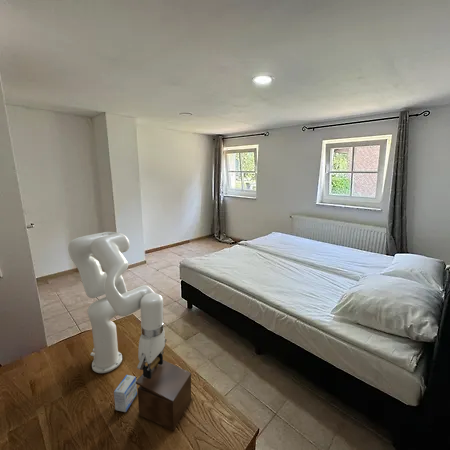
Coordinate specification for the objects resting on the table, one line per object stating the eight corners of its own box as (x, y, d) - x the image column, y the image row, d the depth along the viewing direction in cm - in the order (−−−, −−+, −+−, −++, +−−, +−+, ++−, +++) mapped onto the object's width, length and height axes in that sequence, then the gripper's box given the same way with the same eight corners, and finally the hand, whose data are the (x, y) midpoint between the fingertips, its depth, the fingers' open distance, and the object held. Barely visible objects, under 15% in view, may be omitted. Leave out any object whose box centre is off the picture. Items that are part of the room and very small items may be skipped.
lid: (135, 383, 87) (136, 372, 85) (157, 358, 98) (158, 348, 97) (172, 403, 82) (174, 391, 80) (191, 374, 93) (192, 364, 92)
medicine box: (125, 413, 90) (124, 393, 88) (115, 410, 91) (113, 391, 89) (137, 394, 98) (136, 376, 96) (127, 391, 98) (126, 373, 96)
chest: (139, 415, 89) (137, 388, 87) (159, 387, 101) (158, 363, 98) (173, 430, 84) (172, 403, 82) (191, 399, 96) (191, 374, 93)
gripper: (158, 312, 96) (158, 351, 100) (126, 340, 80) (128, 384, 85) (174, 317, 93) (174, 357, 98) (145, 347, 78) (146, 393, 82)
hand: (153, 369), depth 91 cm, fingers closed on lid, 6 cm apart
